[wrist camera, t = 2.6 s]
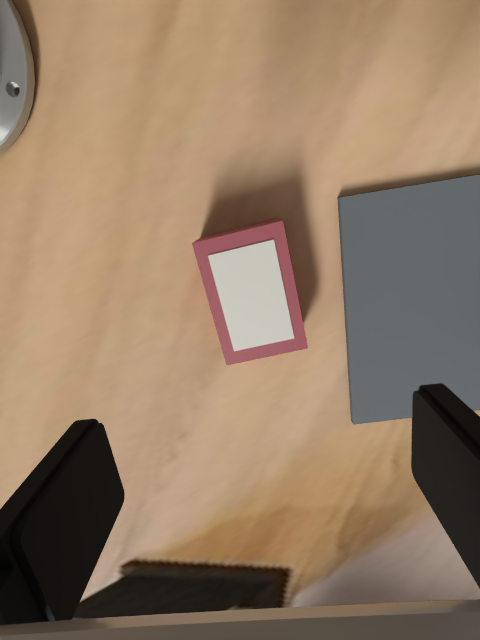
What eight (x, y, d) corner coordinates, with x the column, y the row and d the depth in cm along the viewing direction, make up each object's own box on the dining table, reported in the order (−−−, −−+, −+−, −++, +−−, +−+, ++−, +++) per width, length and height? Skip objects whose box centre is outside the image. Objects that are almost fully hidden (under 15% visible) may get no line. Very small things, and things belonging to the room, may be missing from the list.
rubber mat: (337, 197, 24) (339, 197, 24) (504, 170, 23) (511, 169, 23) (351, 420, 30) (353, 424, 30) (484, 404, 29) (489, 408, 29)
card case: (200, 237, 26) (191, 243, 22) (277, 218, 25) (283, 220, 21) (229, 344, 28) (226, 365, 25) (300, 328, 28) (308, 348, 24)
